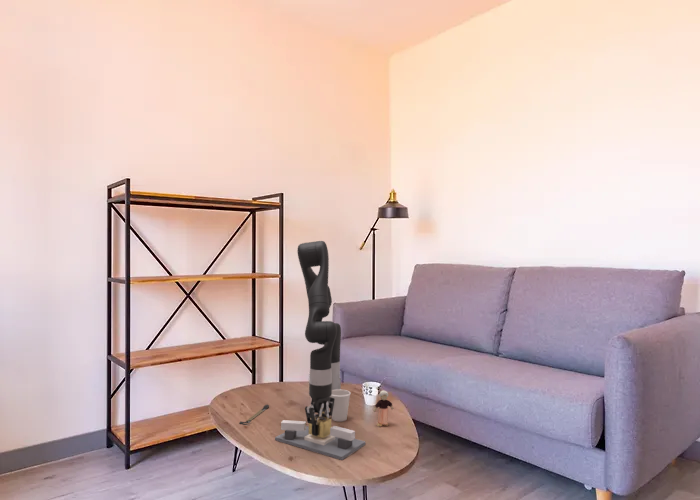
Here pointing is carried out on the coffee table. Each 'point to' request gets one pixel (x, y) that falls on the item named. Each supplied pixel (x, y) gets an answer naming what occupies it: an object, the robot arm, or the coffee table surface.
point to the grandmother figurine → (383, 409)
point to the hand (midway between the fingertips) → (319, 432)
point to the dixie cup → (340, 404)
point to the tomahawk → (255, 415)
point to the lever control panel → (320, 439)
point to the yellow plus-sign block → (322, 426)
